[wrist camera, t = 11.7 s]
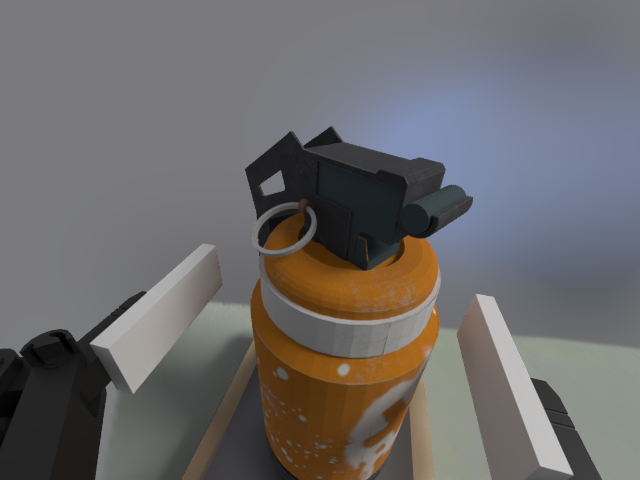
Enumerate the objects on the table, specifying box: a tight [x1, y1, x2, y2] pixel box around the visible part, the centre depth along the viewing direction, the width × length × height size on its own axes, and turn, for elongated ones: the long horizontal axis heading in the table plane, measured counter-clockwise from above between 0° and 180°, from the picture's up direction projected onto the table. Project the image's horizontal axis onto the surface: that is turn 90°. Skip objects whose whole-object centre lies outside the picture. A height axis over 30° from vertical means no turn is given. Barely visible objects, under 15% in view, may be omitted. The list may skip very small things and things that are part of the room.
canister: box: [245, 126, 473, 480], centre depth 16 cm, size 9×11×20 cm
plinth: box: [181, 339, 435, 480], centre depth 22 cm, size 16×16×4 cm
